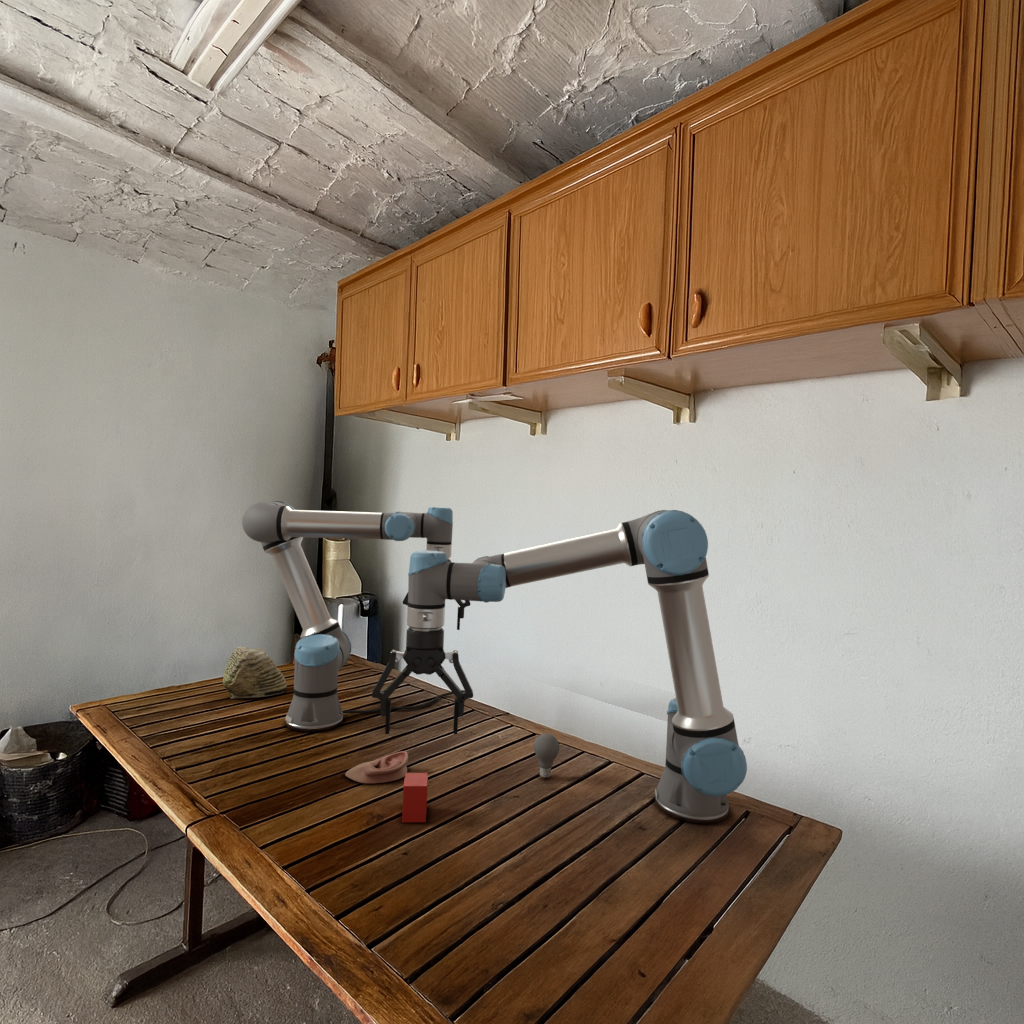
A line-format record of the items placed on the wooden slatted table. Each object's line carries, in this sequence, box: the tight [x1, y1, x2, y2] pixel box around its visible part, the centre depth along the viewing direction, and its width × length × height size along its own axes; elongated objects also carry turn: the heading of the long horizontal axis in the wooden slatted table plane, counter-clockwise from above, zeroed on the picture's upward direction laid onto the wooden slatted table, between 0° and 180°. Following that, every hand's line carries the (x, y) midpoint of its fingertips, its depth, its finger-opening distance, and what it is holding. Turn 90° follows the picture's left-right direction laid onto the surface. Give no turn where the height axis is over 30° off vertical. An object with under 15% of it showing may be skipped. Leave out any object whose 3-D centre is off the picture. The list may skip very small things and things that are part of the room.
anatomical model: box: [344, 750, 409, 784], centre depth 146 cm, size 13×4×12 cm
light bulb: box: [533, 732, 560, 778], centre depth 148 cm, size 6×6×10 cm
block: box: [401, 772, 429, 823], centre depth 128 cm, size 5×6×7 cm
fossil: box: [222, 646, 288, 699], centre depth 198 cm, size 9×18×15 cm, turn 132°
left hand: (435, 628), depth 191 cm, fingers open, 13 cm apart
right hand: (421, 732), depth 128 cm, fingers open, 13 cm apart
